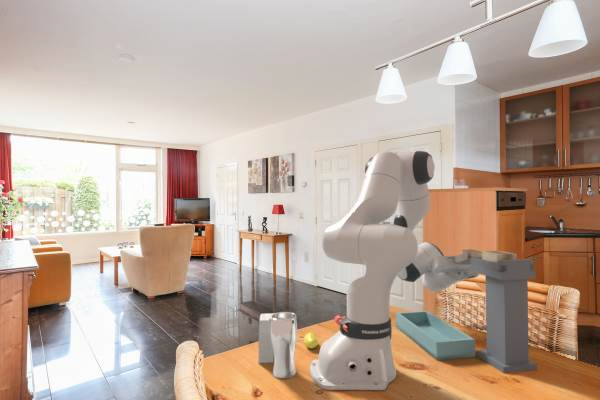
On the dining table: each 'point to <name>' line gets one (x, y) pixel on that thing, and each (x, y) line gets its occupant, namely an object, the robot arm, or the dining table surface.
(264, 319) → the skincare box
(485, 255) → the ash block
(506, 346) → the chute stand
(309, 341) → the lemon
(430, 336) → the teal bin
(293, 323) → the beer glass
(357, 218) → the robot arm
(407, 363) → the dining table surface
